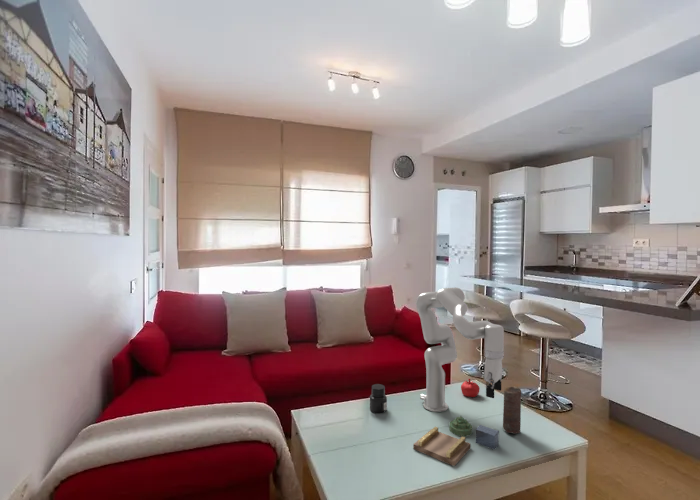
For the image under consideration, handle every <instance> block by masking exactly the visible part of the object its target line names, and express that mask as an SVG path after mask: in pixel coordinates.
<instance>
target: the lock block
mask: <svg viewBox="0 0 700 500" xmlns="http://www.w3.org/2000/svg"><path fill="white" fill-rule="evenodd" d="M499 433H500V431H499V430H497V429H494V428H491V427H487V426H484V425H482V424H479V425H478V426H477V428H476V429H475V444H478V445H479V446H483V447H485V448H488V449H492V450H494V451H495V450H496V449H497V447H498V446H499V445H500V444H499V439H500V438H499V435H500V434H499Z"/></svg>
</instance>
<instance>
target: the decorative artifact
mask: <svg viewBox="0 0 700 500" xmlns="http://www.w3.org/2000/svg"><path fill="white" fill-rule="evenodd" d="M449 431H450V433H451V434H453V435H455V436H458V437H469V436H471V435H472V434H473V425H472V424H471V423H470V422H469V421H468V420H467V419H465V418H464V417H463V416H462V415H460V416H456V417H455V418H454V419H453V420H451V421H449Z"/></svg>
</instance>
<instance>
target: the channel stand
mask: <svg viewBox="0 0 700 500" xmlns="http://www.w3.org/2000/svg"><path fill="white" fill-rule="evenodd" d="M466 439H467V438H466V436H460V438H457V437H454V436H452V435H449V434H446V433H443V432H440V431H439V427H438V426H434V427H433V428H431V429H429V431H427V432H426V433H425V434H424V435H422V436H421V437H420V438H419V439H418V440H416V441H415V442H414V443H413V446H412V447H413V448H412V449H413V450H415V451H418V452H420V453H422V454H425V455H427V456H429V457H431V458H434V459H435V460H439V461H441V462H443V463H445V464H448V465H449V466H450V465H451V466H453V467H455V466H456V465H457V464H458V463H459V462H460V461H461V459H462V458H463V457H464V456H465V455H466V454H467V453H468V452H469V451H470V450H471V447H472V446H471V443H470V442H467V441H466Z"/></svg>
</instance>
